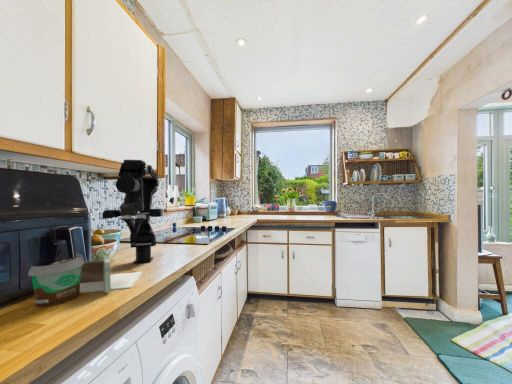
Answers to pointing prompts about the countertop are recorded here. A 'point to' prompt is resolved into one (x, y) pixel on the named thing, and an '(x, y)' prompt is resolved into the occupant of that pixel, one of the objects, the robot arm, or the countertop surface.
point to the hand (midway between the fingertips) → (134, 237)
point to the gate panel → (106, 272)
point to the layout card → (112, 282)
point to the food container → (57, 281)
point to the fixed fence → (92, 272)
